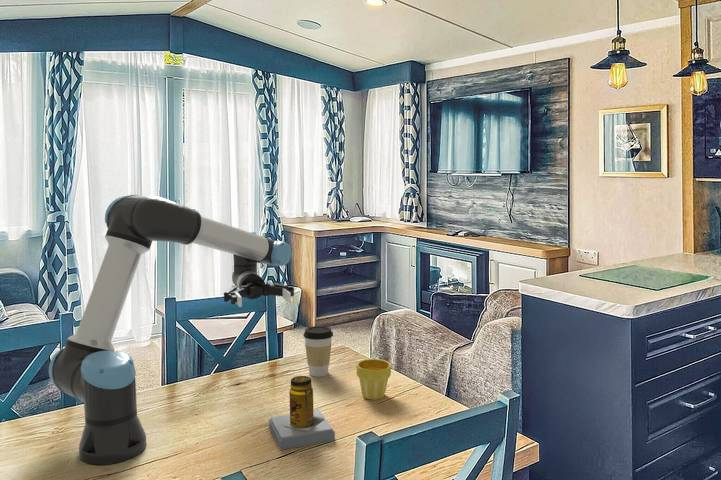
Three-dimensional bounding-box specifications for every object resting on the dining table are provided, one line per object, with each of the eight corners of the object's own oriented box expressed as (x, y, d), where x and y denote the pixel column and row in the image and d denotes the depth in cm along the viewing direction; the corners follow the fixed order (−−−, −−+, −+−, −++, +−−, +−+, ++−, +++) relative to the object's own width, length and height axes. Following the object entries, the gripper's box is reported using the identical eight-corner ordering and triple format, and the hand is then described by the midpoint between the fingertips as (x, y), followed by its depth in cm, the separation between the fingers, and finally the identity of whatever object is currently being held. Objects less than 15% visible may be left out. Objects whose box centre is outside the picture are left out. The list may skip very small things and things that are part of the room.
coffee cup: (335, 368, 199) (335, 325, 197) (331, 379, 189) (330, 334, 187) (306, 367, 200) (306, 325, 198) (301, 378, 190) (300, 333, 188)
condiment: (283, 426, 148) (282, 381, 147) (300, 413, 156) (300, 370, 154) (307, 432, 145) (307, 385, 144) (324, 418, 153) (324, 374, 151)
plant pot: (397, 393, 177) (397, 362, 176) (379, 405, 168) (379, 372, 167) (368, 386, 183) (368, 356, 181) (349, 397, 174) (349, 365, 173)
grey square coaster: (280, 450, 142) (280, 438, 142) (269, 427, 154) (268, 416, 154) (334, 440, 147) (334, 429, 147) (319, 419, 159) (319, 408, 159)
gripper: (290, 293, 185) (309, 309, 166) (210, 300, 176) (219, 317, 157) (290, 270, 184) (308, 283, 165) (209, 276, 175) (218, 290, 156)
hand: (265, 300), depth 161 cm, fingers open, 13 cm apart
